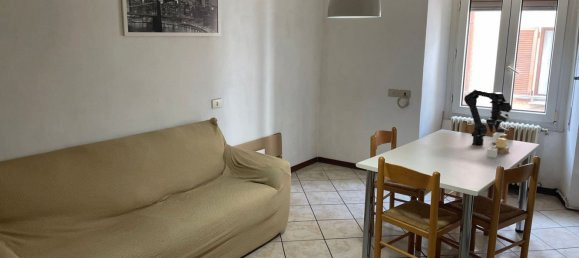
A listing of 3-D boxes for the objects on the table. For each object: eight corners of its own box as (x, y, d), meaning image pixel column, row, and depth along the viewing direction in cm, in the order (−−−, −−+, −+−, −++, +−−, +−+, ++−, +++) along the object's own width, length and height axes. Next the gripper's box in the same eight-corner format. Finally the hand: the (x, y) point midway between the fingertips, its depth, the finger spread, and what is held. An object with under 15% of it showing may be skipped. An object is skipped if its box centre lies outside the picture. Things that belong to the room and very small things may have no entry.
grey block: (486, 156, 313) (487, 149, 312) (487, 154, 318) (488, 147, 317) (496, 157, 310) (497, 150, 309) (496, 155, 315) (497, 148, 314)
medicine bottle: (499, 144, 347) (500, 129, 344) (491, 142, 353) (493, 127, 351) (506, 143, 350) (507, 128, 347) (498, 141, 356) (500, 126, 354)
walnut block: (491, 152, 324) (492, 147, 324) (495, 150, 331) (495, 144, 330) (505, 154, 319) (505, 149, 318) (508, 152, 326) (509, 146, 325)
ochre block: (495, 146, 324) (496, 138, 323) (498, 145, 328) (499, 137, 327) (502, 148, 321) (503, 139, 320) (505, 147, 324) (506, 138, 323)
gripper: (502, 113, 317) (500, 135, 320) (512, 109, 330) (510, 131, 333) (486, 111, 324) (484, 132, 328) (496, 108, 338) (494, 129, 341)
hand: (494, 131), depth 332 cm, fingers open, 9 cm apart
